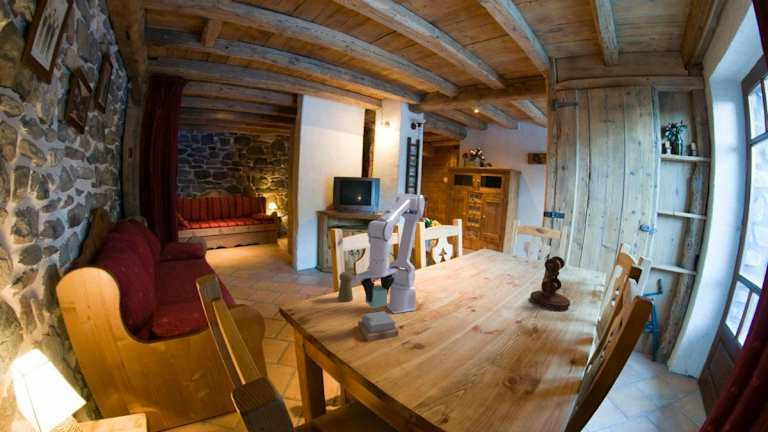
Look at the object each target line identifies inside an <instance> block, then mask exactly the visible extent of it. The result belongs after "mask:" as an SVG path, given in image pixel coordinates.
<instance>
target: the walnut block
mask: <svg viewBox="0 0 768 432" xmlns="http://www.w3.org/2000/svg"><path fill="white" fill-rule="evenodd" d="M357 327H358V328H359V330H360V331H361V333H362V334H363V336H364V337H365V339H366V340H367V342H373V341H374V342H375V341H379V340H384V339H390V338H396V337H398V336H399V330H398V329H397V327H396V326H395V327H394V330H388V331H382V332H376V333H370V331H369V330H368V329H367V327H366V326H365V325H364V323H363V322H362V319H361V320H358V323H357Z"/></svg>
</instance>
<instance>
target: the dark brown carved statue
mask: <svg viewBox="0 0 768 432" xmlns="http://www.w3.org/2000/svg"><path fill="white" fill-rule="evenodd" d="M565 265H566V263H565V261H564V259H563V258H562V257H561V256H557V255H556V256H553V257H551V258H547V259H545V262H544V265H543V266H544V267H545V269H544V270H545V271H544V275H543V278H542V280H541V288H540V289H541V290H540V289H538V290H535V291H532V292H531V293H530V298H531V300H532V303H538V304H540V305H544V306H547V307H551V308H556V310H557V311H558V312H559V311H560V310H561V309H562V308H563V309H564V308H568V307H569V308H570V306H571V301H570V299H569V298H567V297H566V296H564V295H562V294H560V293H557V291H559V290H561V288H562V286H563V285H562V281H561V280H560V279H559V278H558V277H559V276H560V271H561V270H562V269H563V268H564V266H565Z"/></svg>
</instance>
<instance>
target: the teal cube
mask: <svg viewBox="0 0 768 432" xmlns="http://www.w3.org/2000/svg"><path fill="white" fill-rule="evenodd" d="M365 303H366V304H367V305H368V306H370V307H371V308H373V309H375V308H379V307H384V306H386V305H387V303H388V294H387V290H386V289H385V288H383V287H381V284H380V285H379V284H377V285H374V287H373V292H372V301H371V302H368V301H367V300H366V299H365Z"/></svg>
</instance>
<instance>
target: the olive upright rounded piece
mask: <svg viewBox="0 0 768 432" xmlns="http://www.w3.org/2000/svg"><path fill="white" fill-rule="evenodd" d="M353 278H354V277H353V273H351V272H349V271H343V272H341V273H340V274H339V280H340V284H339V289H338V290H339V291H338V295H337V301H339V302H341V303H350V302H352V301H354V298H353V297H354V295H353V287H352V281H353Z"/></svg>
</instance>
